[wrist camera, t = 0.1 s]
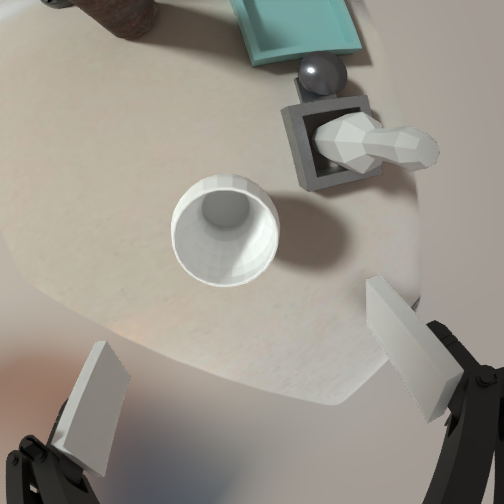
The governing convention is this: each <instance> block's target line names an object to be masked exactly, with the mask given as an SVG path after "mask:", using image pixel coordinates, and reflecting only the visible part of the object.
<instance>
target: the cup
mask: <svg viewBox="0 0 504 504" xmlns="http://www.w3.org/2000/svg"><path fill="white" fill-rule="evenodd" d="M171 233H172V243H173V249H174V252H175V254H176V257H177V260H178V261H179V262H180V264H181V265H182V267H183V268H184V269H185V271H187V272H188V273H189V274H190V275H191V276H193V277H194V278H195V279H197V280H199V281H201V282H203V283H205V284H208V285H212V286H217V287H234V286H238V285H242V284H246V283H248V282H250V281H251V280H253V279H255V278H257V277H258V276H259V275H260V274H262V273H263V272H264V271H265V270H266V269H267V268H268V266H269V265H270V263H271V262H272V260H273V259H274V257H275V254H276V251H277V248H278V243H279V235H280V221H279V217H278V212H277V210H276V208H275V206H274V204H273V202H272V200H271V199H270V197H269V196H268V194H267V193H266V192H265V191H264V190H263V189H262V188H261V187H260V186H259V185H258V184H256V183H254V182H253V181H251V180H249V179H247V178H245V177H242V176H238V175H234V174H217V175H214V176H210V177H207V178H204V179H202V180H201V181H199V182H197V183H196V184H194V185H193V186H192V187H191V188H190V189H189V190H188V191H187V192H186V193H185V194H184V195H183V196H182V198H181V199H180V200H179V202H178V204H177V206H176V208H175V210H174V213H173V217H172V223H171Z"/></svg>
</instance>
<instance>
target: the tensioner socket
mask: <svg viewBox="0 0 504 504" xmlns="http://www.w3.org/2000/svg"><path fill="white" fill-rule="evenodd" d="M297 72H298V78H295V79H294V82H295V85H296V89H297V92H298V96H299V99H300V103H301V104H298V105H293V106H288V107H286V108H284V109H282V110H281V114H282V118H283V121H284V125H285V129H286V132H287V136H288V140H289V144H290V148H291V152H292V156H293V160H294V164H295V168H296V172H297V177H298V181H299V185H300V186H301V187H302V188H303V189H305V190H306V191H308V192H310V191H314V190H318V189H322V188H326V187H330V186H334V185H338V184H343V183H347V182H351V181H355V180H360V179H364V178H368V177H373V176H377V175H382V174H383V173H382V166H381V165H380V166H378V167H376V168H374V169H372V170H370V171H368V172H366V173H364V174H362V173H358V172H355V171H352V170H349V169H347V168H345V167H343V166H337V167H332V168H328V169H323V170H319V171H315V166H314V162H313V157H312V153H311V149H310V144H309V140H308V136H307V132H306V128H305V124H304V121H303V116H308V115H313V114H319V113H325V112H331V111H337V110H344V109H346V110H347V114H351V113H358V112H364V113H366V114H367V115H369V116H370V117H372V114H371V109H370V105H369V101H368V97H367V95H360V96H351V97H343V98H337V96H336V93H338V92H339V91H341V90H342V89H343V88H344V86H345V85H346V82H347V70H346V67H345V65H344V64H343V62H342V61H341V60H340V59H339V58H338V57H337V56H336V55H334V54H332V53H330V52H327V51H313V52H311V53H309V54H307V55H306V56H305V57H304V58H303V59H302V60H301V62H300V63H299V66H298V71H297Z"/></svg>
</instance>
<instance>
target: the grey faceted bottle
mask: <svg viewBox="0 0 504 504" xmlns="http://www.w3.org/2000/svg"><path fill="white" fill-rule="evenodd" d="M311 141H312V143H313V145H314V147H315V149H316V151H317V152H319V153H320V154H322V155H323V156H325V157H327V158H328V159H330V160H332V161H334V162H336V163H337V164H339V165H341V166H343V167H345V168H347V169H349V170H352V171H355V172H358V173H362V174H364V173H366V172H368V171H370V170H372V169H374V168H376V167H378V166H380V165H381V164H382V162H383V161H385V162H389V163H393V164H395V165H398V166H400V167H402V168H405V169H407V170H409V171H411V172H412V171H416V170H421V169H425V168H428V167H430V166H432V165H434V164H435V163H436V162H437V159H438V156H439V154H440V152H439V149H438V145H437V142H436V141H435V140H434V139H433V138H432V137H431V136H430V135H428V134H427V133H425V132H423V131H421V130H419V129H417V128H415V127H414V126H407V127H401V128H394V129H383V126H382V124H381V123H379V122H378V121H376V120H375V119H373V118H372V117H370V116H369V115H367V114H366V113H364V112H358V113H351V114H346V115H344V116H342V117H339V118H337V119H335V120H332V121H330V122H328V123H326V124H324V125H322V126H320V127H318V128H316V130H315V132H314V134H313V136H312V139H311Z"/></svg>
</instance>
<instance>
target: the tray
mask: <svg viewBox="0 0 504 504" xmlns="http://www.w3.org/2000/svg"><path fill="white" fill-rule="evenodd" d="M230 2H231V5H232V7H233V10H234V13H235V16H236V19H237V22H238V25H239V28H240V30H241V33H242V36H243V39H244V42H245V46H246V49H247V52H248V55H249V58H250V61H251V64H252V67H255V66H260V65H265V64H270V63H276V62H282V61H288V60H295V59H302V58H304V57H305V56H306V55H307V54H309V53H311V52H313V51H327V52H330V53H332V54H334V55H346V54H353V53H355V52H357V51H359V50H360V49H362V46H361V43H360V40H359V37H358V35H357V32H356V29H355V27H354V24H353V21H352V19H351V16H350V14H349V11H348V9H347V7H346V4H345V2H344V0H230Z"/></svg>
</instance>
